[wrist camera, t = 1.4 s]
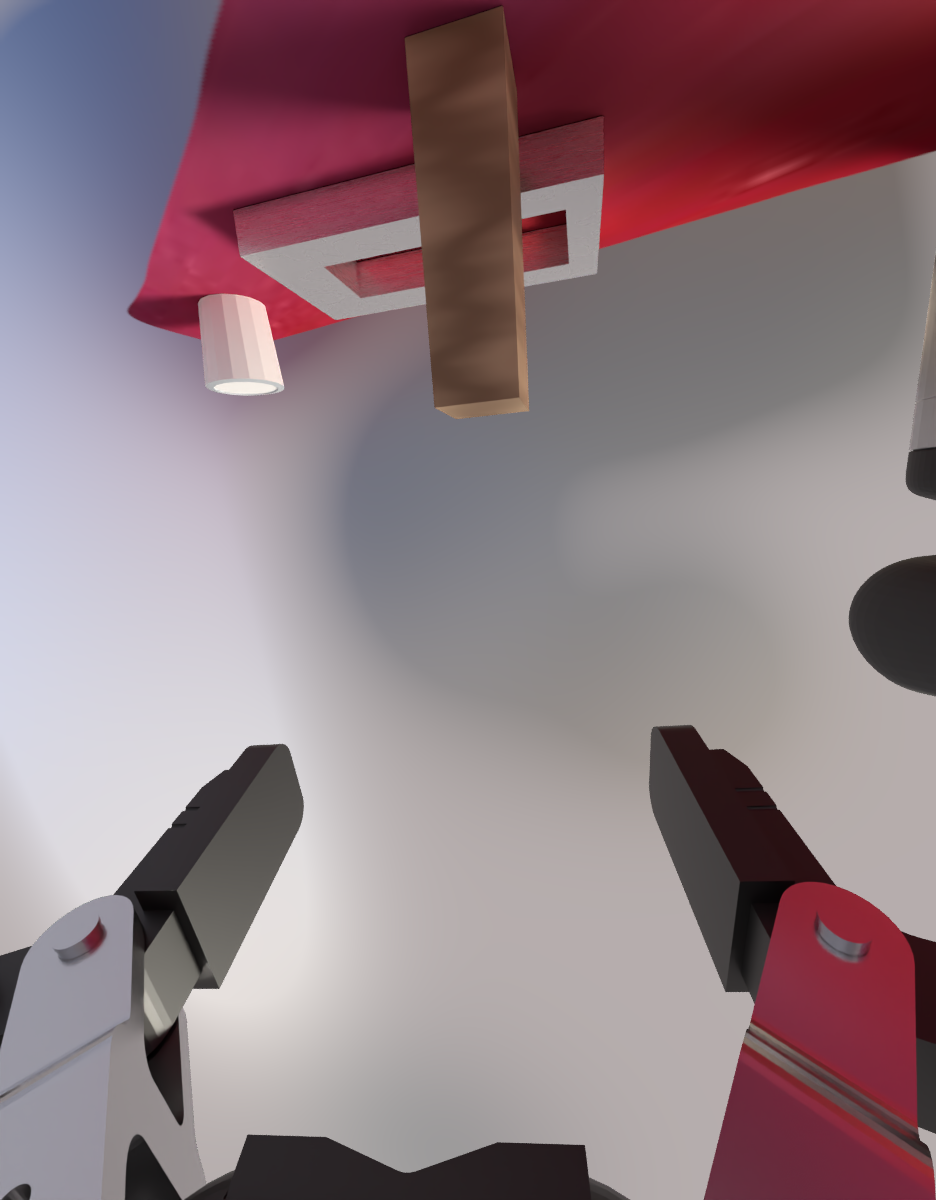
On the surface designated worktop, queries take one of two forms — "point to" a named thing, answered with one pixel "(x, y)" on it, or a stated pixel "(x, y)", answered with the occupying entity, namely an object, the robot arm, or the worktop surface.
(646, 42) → the worktop surface
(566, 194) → the keyhole plate
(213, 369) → the white tapered cup
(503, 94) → the walnut post
